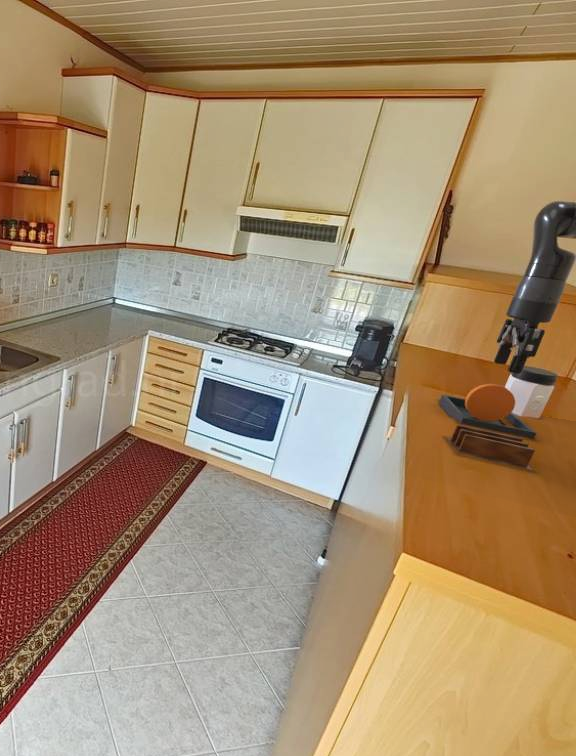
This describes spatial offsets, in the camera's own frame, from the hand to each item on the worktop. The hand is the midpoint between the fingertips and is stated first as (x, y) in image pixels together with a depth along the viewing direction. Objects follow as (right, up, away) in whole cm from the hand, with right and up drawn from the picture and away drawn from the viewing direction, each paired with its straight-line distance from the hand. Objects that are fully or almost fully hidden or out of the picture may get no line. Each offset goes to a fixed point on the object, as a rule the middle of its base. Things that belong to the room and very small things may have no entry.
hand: (506, 367), depth 113 cm
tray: (-2, -13, +5) cm, 14 cm away
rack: (-18, -19, -15) cm, 29 cm away
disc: (-2, -12, +5) cm, 13 cm away
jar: (+15, -12, +13) cm, 23 cm away
